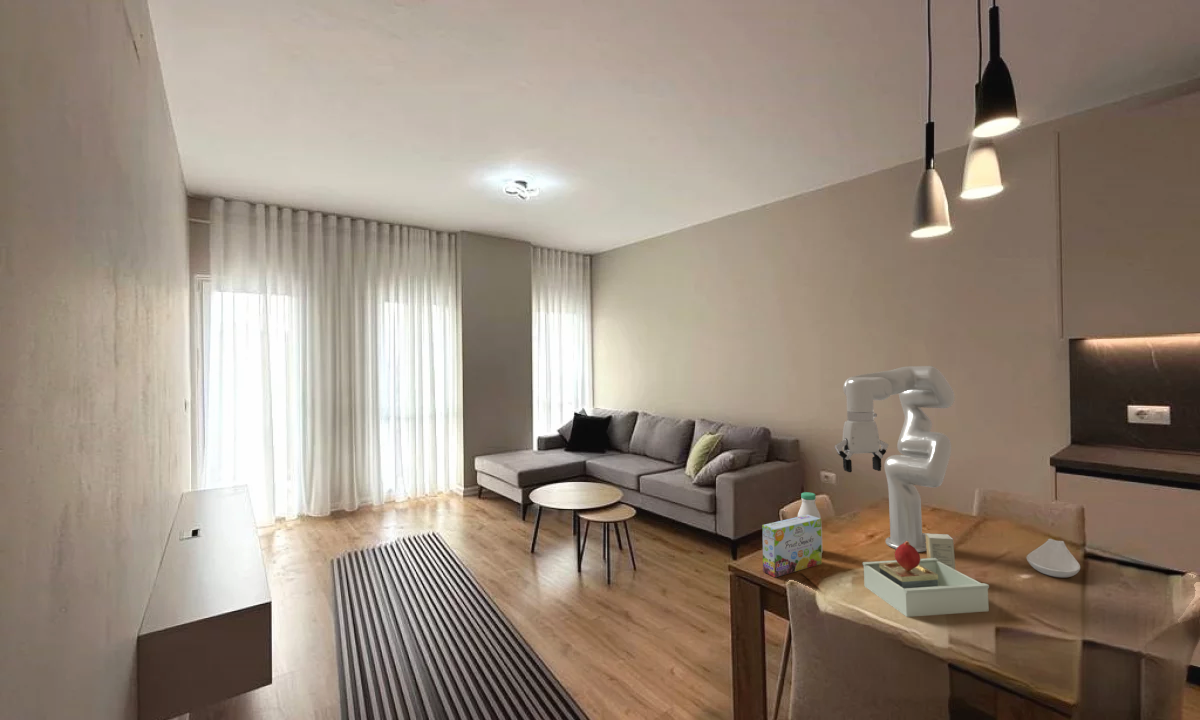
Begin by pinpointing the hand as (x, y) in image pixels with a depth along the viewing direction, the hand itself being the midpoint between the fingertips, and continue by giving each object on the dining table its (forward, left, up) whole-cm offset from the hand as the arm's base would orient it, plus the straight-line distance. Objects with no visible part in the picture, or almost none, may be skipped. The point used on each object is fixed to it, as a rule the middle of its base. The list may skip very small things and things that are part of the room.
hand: (862, 470), depth 153 cm
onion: (+3, +23, -22) cm, 32 cm away
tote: (-1, +23, -30) cm, 38 cm away
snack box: (+23, -2, -31) cm, 38 cm away
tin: (+3, +23, -30) cm, 38 cm away
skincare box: (-17, +10, -31) cm, 36 cm away
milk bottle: (+11, -14, -31) cm, 35 cm away
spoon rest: (-55, +9, -31) cm, 64 cm away
